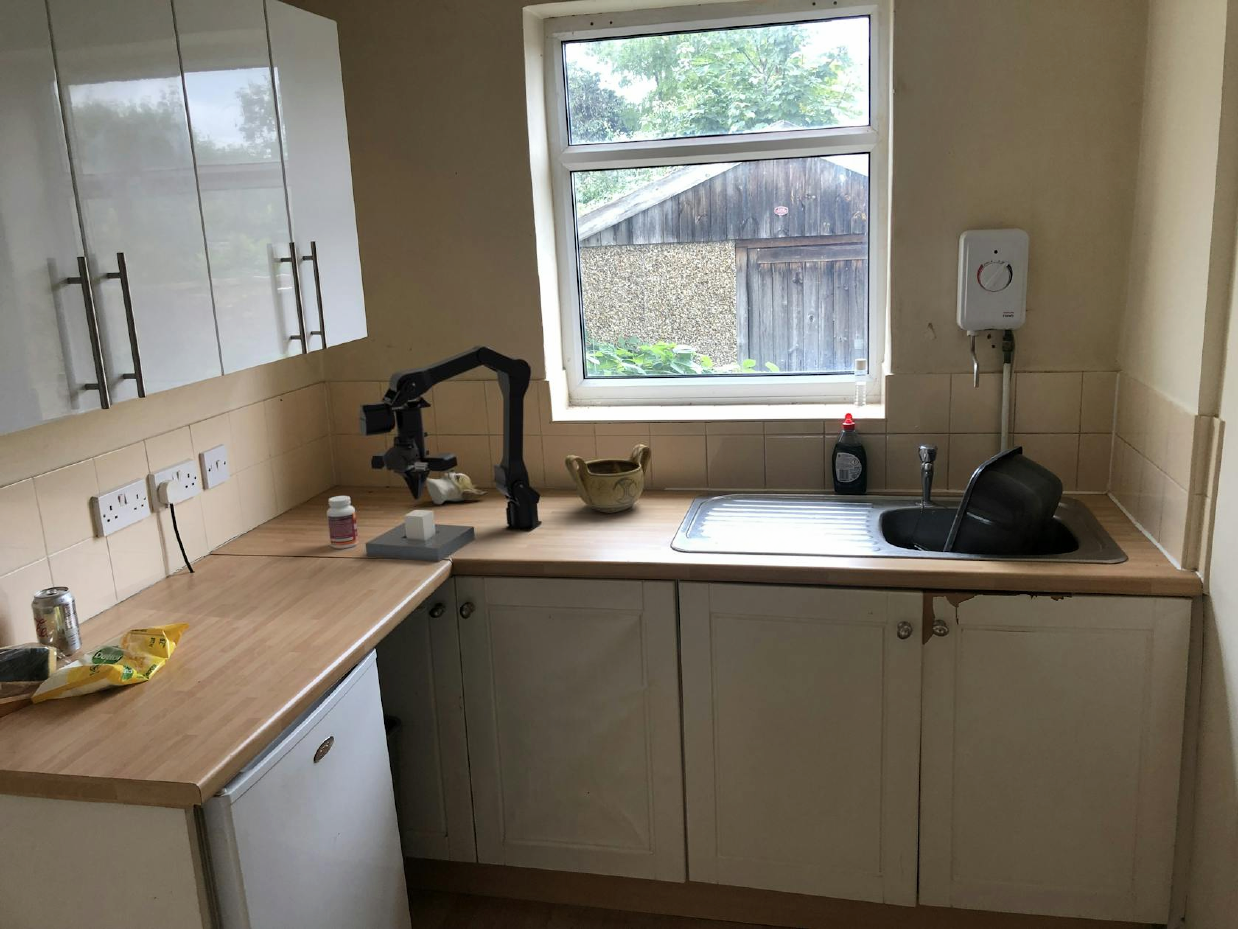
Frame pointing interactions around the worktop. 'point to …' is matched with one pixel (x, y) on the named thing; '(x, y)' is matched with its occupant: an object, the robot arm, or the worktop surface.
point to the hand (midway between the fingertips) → (417, 499)
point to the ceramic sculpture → (452, 488)
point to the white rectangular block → (419, 524)
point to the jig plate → (420, 543)
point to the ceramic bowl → (610, 480)
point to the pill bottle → (342, 523)
